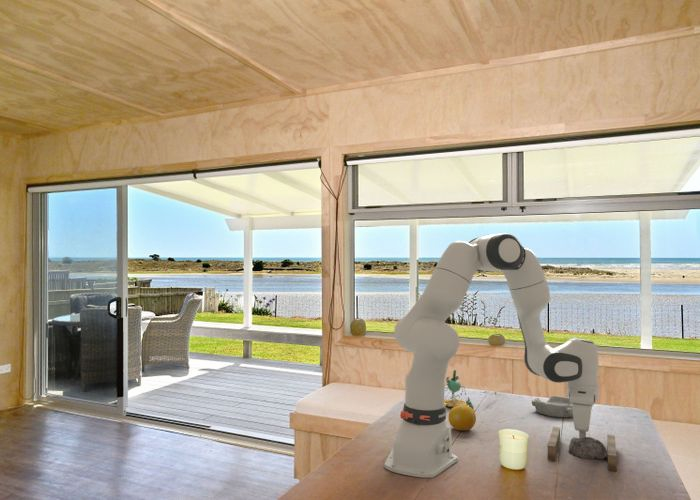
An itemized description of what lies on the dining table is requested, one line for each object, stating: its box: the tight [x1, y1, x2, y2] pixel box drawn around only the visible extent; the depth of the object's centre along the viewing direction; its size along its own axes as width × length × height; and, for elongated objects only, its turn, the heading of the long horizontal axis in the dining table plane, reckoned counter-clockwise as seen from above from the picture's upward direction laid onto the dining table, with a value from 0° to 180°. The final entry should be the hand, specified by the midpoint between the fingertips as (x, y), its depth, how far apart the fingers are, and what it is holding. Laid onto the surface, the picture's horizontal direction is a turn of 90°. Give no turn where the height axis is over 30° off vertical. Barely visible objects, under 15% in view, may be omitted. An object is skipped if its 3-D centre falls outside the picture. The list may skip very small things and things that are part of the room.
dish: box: [531, 395, 573, 418], centre depth 184 cm, size 14×14×5 cm
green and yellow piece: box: [444, 369, 476, 412], centre depth 193 cm, size 10×18×15 cm, turn 22°
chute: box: [547, 426, 618, 472], centre depth 144 cm, size 18×17×4 cm
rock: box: [568, 436, 608, 460], centre depth 145 cm, size 9×11×4 cm
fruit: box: [447, 405, 477, 432], centre depth 165 cm, size 9×8×8 cm
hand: (582, 437), depth 152 cm, fingers closed
